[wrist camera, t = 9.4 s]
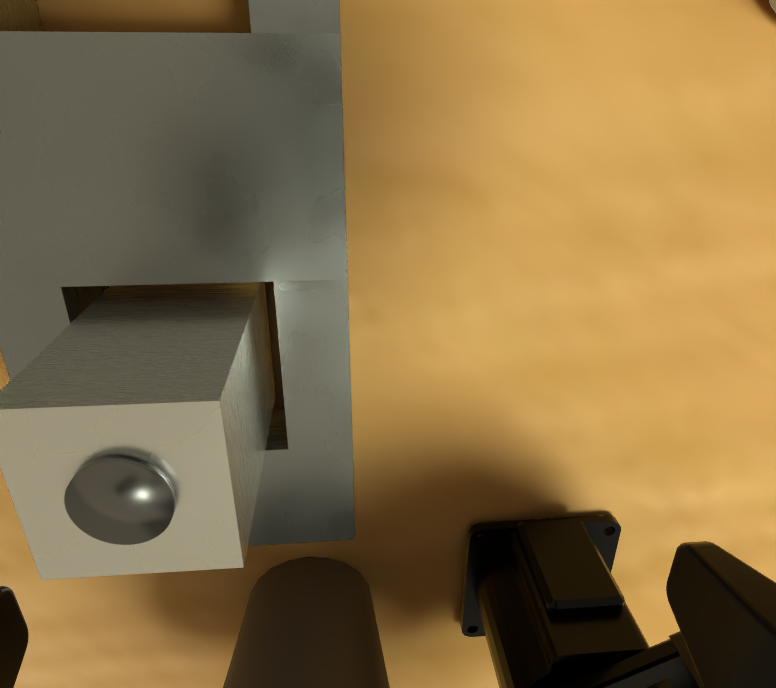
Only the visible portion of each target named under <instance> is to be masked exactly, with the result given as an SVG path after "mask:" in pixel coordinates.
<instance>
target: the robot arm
mask: <svg viewBox="0 0 776 688" xmlns="http://www.w3.org/2000/svg"><path fill="white" fill-rule="evenodd" d="M607 527H608V528H607ZM620 532H621V527H620V525H619V523H618V522H617V520H616V519H615V517H613V516H609V515H605V516H588V517H571V518H554V519H537V520H520V521H503V522H486V523H477V524H474V525H472V526H471V527H470V528H469V530H468V534H467V546H466V558H465V570H464V582H463V594H462V606H461V618H460V624H461V629H462V633H463V634H464V635H465V636H468V637H476V636H486V639H487V642H488V646H489V650H490V654H491V657H492V661H493V665H494V669H495V672H496V676H497V680H498V684H499V687H500V688H776V583H775V582H774V581H772V580H771V579H769V578H768V577H766V576H764V575H763V574H761V573H760V572H758V571H757V570H755V569H753V568H752V567H750V566H749V565H747V564H746V563H744V562H742V561H741V560H739V559H738V558H736V557H735V556H733V555H731V554H730V553H728V552H727V551H725V550H724V549H722V548H720V547H719V546H717V545H715V544H714V543H711V542H706V541H703V542H687V543H682V544H681V545H680V546H679V547H678V548H677V550H676V553H675V557H674V560H673V563H672V567H671V570H670V574H669V577H668V580H667V587H666V591H667V597H668V601H669V604H670V606H671V609H672V611H673V614H674V616H675V618H676V621H677V623H678V626H679V628H680V631H679V632H677V633H675V634H672V635H670V636H669V638H670V639H668V640H666V641H664V642H661V643H659V644H657V645H654V646H652V647H649V645H648V643H647V641H646V639H645V638H644V636H643V634H642V632H641V630H640V628H639V627H638V625H637V623H636V621H635V619H634V617H633V616H632V614H631V612H630V610H629V608H628V606H627V605H626V603H625V600H624V596H623V595H622V593H621V591H620V589H619V587H618V585H617V584H616V582H615V580H614V578H613V576H612V574H611V570H612V566H613V561H614V557H615V553H616V549H617V545H618V540H619V536H620ZM481 534H484V535H482V536H478V535H481ZM27 644H28V628H27V625H26V622H25V620H24V617H23V615H22V612H21V610H20V607H19V605H18V602H17V600H16V597H15V595H14V593H13V591H12V590H11V589H10V588H8V587H5V586H0V688H13V687H14V684H15V681H16V678H17V675H18V672H19V669H20V666H21V663H22V660H23V657H24V654H25V652H26V648H27Z"/></svg>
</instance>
